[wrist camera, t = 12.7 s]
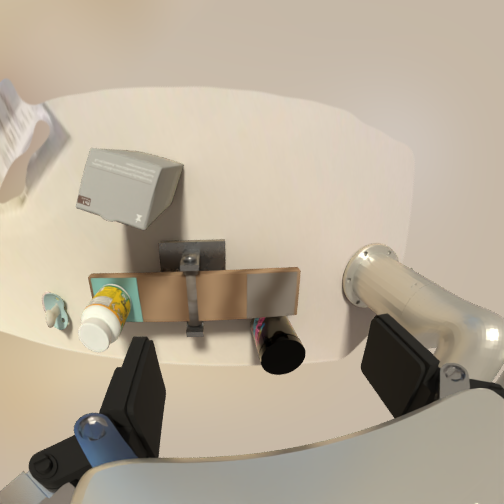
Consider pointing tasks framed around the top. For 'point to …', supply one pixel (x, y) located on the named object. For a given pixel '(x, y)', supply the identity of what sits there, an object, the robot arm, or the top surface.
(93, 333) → the supplement bottle
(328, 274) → the top surface
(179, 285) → the beam
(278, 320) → the supplement container
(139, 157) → the skincare box
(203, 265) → the beam stand
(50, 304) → the pacifier
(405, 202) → the top surface
